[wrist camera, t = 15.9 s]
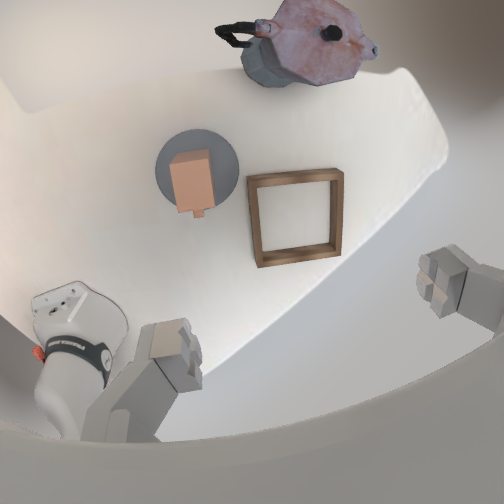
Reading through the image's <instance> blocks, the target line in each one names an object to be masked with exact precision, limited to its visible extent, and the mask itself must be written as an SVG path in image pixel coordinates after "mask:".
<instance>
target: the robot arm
mask: <svg viewBox="0 0 504 504" xmlns="http://www.w3.org/2000/svg"><path fill="white" fill-rule="evenodd" d="M418 266H419V267H420V269H421V270H420V271H419V273H418V274H417V280H416V285H417V290H418V292H419V294H420V296H421V297H422V298H423V299H424V300H426V301H429V302H430V308H431V309H432V310H433V311H434V312H435V313H436V315H437V316H438V317H439V319H440V318H443V317H445V316H447V315H450V314H452V313H454V312H457V313H459V314H461V315H463V316H465V317H467V318H469V319H470V320H472V321H474V322H476V323H478V324H480V325H482V326H483V327H485V328H487V329H489V330H491V331H493V332H494V333H495V334H494V336H493V338H492V340H490V341H488V342H487V343H485V344H483V345H482V346H480V347H478V348H477V349H475V350H473V351H472V352H470V353H468V354H466V355H465V356H463V357H461V358H459V359H458V360H456V361H454V362H452V363H450V364H448V365H446V366H444V367H443V368H440V369H439V370H437V371H435V372H432V373H430V374H428V375H426V376H424V377H422V378H420V379H418V380H416V381H414V382H411V383H409V384H407V385H404V386H402V387H400V388H397V389H395V390H393V391H390V392H388V393H386V394H383V395H380V396H378V397H375V398H372V399H370V400H367V401H364V402H362V403H359V404H356V405H353V406H350V407H347V408H344V409H341V410H338V411H334V412H331V413H328V414H325V415H321V416H318V417H314V418H310V419H307V420H303V421H299V422H295V423H292V424H287V425H283V426H278V427H274V428H269V429H264V430H259V431H254V432H248V433H243V434H236V435H230V436H223V437H216V438H208V439H199V440H189V441H175V442H161V441H160V440H159V439H158V438H156V437H155V436H154V434H155V433H156V431H157V429H158V428H159V426H160V424H161V423H162V421H163V419H164V418H165V416H166V414H167V413H168V410H169V409H170V408H171V406H172V404H173V403H174V401H175V399H176V398H177V396H178V394H177V393H183V392H189V391H194V390H201V389H202V372H201V370H200V368H199V366H200V365H201V363H202V353H201V348H200V345H199V342H198V339H197V337H196V336H195V335H193V334H192V333H191V325H190V323H189V321H188V319H186V318H181V319H176V320H170V321H165V322H159V323H155V324H149V325H144V326H143V327H142V328H141V332H140V336H139V340H138V344H137V349H136V353H135V358H134V362H130V363H129V364H128V365H127V366H126V367H125V368H124V369H123V370H122V371H121V373H120V374H119V375H118V376H117V377H116V378H115V379H114V380H113V381H112V382H111V383H110V385H109V386H108V387H107V388H106V389H105V387H106V385H107V382H108V379H109V375H110V371H111V366H112V359H113V357H114V354H115V352H116V350H117V349H118V347H119V345H120V344H121V342H122V341H123V339H124V338H125V337H126V335H127V331H128V325H127V321H126V318H125V316H124V314H123V313H122V311H121V310H120V309H119V308H118V307H117V306H116V305H115V304H114V303H113V302H112V301H110V300H109V299H107V298H106V297H104V296H102V295H99V294H97V293H95V292H93V291H91V290H90V289H89V288H87V287H86V286H85V285H84V284H83V283H81V282H78V281H76V282H73V283H71V284H68V285H65V286H63V287H60V288H58V289H55V290H52V291H50V292H47V293H45V294H42V295H40V296H37V297H35V298H33V300H32V302H31V305H32V311H33V314H34V317H35V318H34V322H33V328H34V332H35V334H36V336H37V338H38V340H39V342H40V343H41V345H42V347H43V348H44V349H45V353H44V352H43V351H42V348H41V347H40V346H36V347H35V348H34V349H33V351H32V352H33V354H34V355H35V356H36V357H37V360H42V362H43V363H44V366H43V369H42V371H41V373H40V376H39V378H38V381H37V383H36V386H35V389H34V397H35V401H36V404H37V406H38V408H39V409H40V411H41V412H42V414H43V415H44V416H45V417H46V418H47V420H48V421H50V422H51V423H52V424H53V425H54V426H55V427H56V429H57V430H58V431H59V432H60V434H61V438H60V439H57V438H49V437H44V436H42V435H40V434H37V433H35V432H33V431H31V430H29V429H27V428H25V427H22V426H21V425H19V424H17V423H15V422H12V421H9V420H6V419H3V418H0V504H504V270H500V269H498V268H494V267H491V266H488V265H485V264H481V265H479V264H478V263H477V262H476V261H475V260H474V259H472V258H471V257H470V256H469V255H467V254H466V253H465V252H464V251H463V250H461V249H460V248H459V247H458V246H456V245H454V244H450V245H447V246H444V247H442V248H440V249H437V250H434V251H431V252H428V253H425V254H422V255H421V256H420V258H419V263H418ZM104 389H105V390H104ZM103 390H104V391H103Z"/></svg>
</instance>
